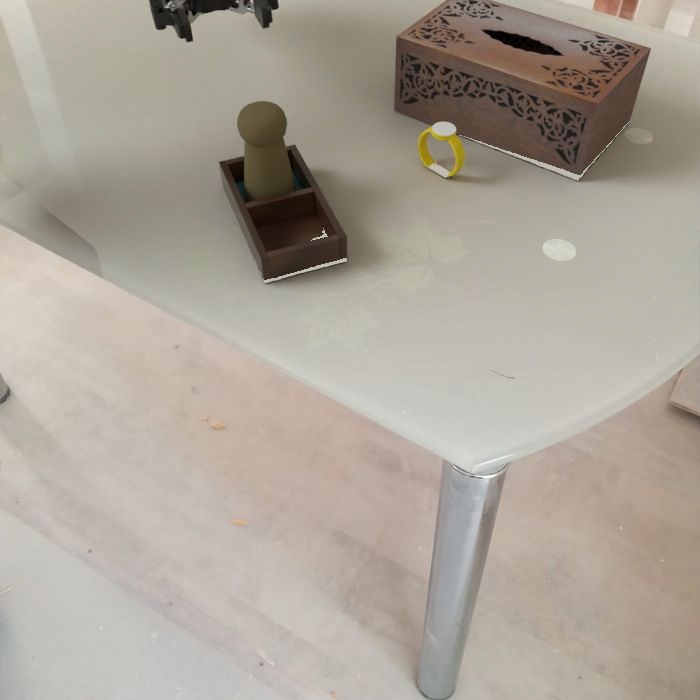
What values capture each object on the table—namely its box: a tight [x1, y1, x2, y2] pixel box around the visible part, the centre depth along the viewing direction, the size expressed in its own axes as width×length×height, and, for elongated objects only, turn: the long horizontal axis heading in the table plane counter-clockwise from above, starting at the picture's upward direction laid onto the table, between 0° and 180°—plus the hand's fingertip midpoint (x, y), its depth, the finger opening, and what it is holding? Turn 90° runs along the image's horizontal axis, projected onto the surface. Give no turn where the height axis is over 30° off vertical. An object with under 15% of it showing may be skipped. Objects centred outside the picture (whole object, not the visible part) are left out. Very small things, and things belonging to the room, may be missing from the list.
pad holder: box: [218, 143, 348, 280], centre depth 84 cm, size 9×17×4 cm, turn 20°
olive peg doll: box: [236, 100, 297, 203], centre depth 84 cm, size 6×6×11 cm
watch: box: [417, 122, 466, 177], centre depth 89 cm, size 6×3×6 cm, turn 46°
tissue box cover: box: [393, 0, 652, 175], centre depth 94 cm, size 26×14×10 cm, turn 53°
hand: (228, 26), depth 83 cm, fingers open, 8 cm apart
